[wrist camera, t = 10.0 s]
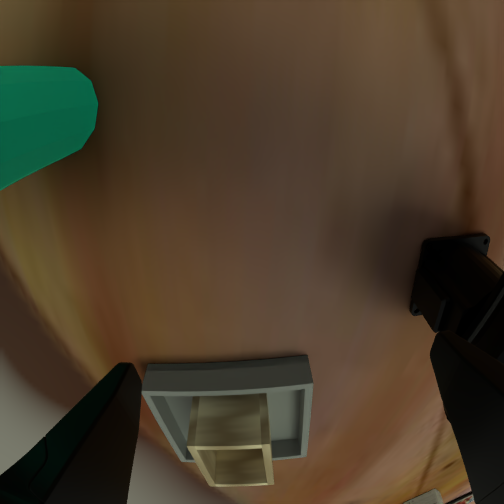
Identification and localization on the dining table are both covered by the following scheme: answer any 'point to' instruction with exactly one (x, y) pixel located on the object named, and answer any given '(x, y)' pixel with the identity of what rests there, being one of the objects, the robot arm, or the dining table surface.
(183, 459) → the grey tray
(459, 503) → the ceramic plate
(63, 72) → the candle
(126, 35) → the dining table surface
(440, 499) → the supplement box
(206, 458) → the birch crate
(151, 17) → the dining table surface
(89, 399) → the robot arm
